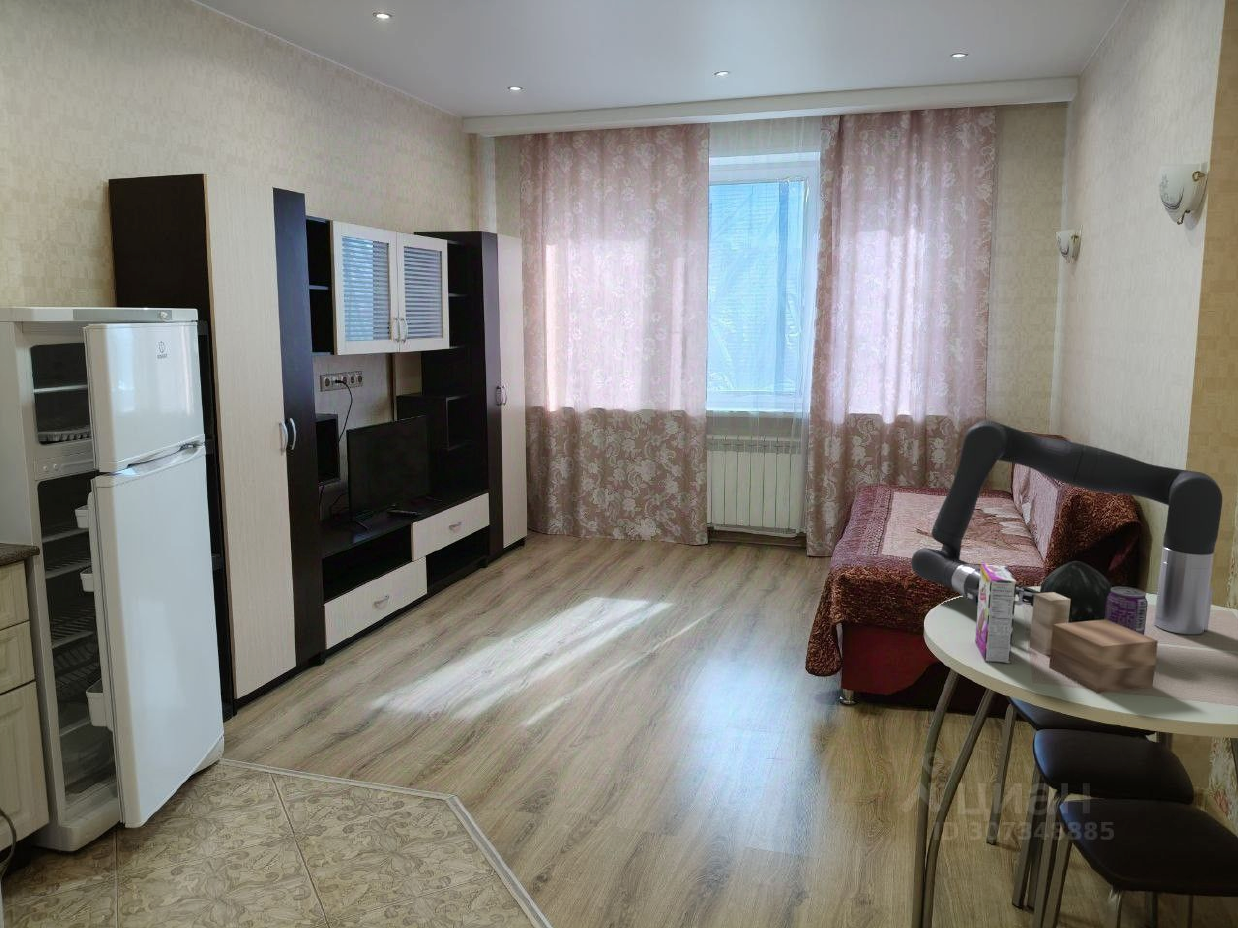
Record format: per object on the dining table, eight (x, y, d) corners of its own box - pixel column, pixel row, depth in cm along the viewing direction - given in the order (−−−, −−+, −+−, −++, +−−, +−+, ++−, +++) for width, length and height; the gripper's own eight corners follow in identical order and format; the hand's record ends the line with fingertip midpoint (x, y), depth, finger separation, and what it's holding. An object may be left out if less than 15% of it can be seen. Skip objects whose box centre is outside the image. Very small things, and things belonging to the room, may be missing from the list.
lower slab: (1101, 664, 178) (1104, 641, 178) (1152, 688, 167) (1155, 665, 166) (1048, 669, 175) (1051, 646, 174) (1096, 695, 164) (1099, 670, 163)
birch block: (1048, 644, 187) (1054, 592, 185) (1065, 653, 183) (1070, 599, 181) (1029, 646, 186) (1034, 593, 184) (1045, 655, 181) (1050, 600, 180)
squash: (1107, 589, 206) (1067, 540, 204) (1143, 614, 192) (1100, 561, 189) (1054, 628, 208) (1014, 580, 206) (1085, 656, 194) (1043, 604, 192)
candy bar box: (973, 641, 188) (979, 563, 185) (999, 644, 187) (1006, 564, 184) (982, 662, 177) (990, 578, 174) (1010, 664, 176) (1018, 580, 173)
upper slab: (1103, 641, 178) (1105, 619, 177) (1155, 664, 166) (1157, 640, 165) (1050, 647, 174) (1052, 624, 174) (1099, 670, 163) (1102, 646, 162)
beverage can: (1138, 645, 187) (1145, 588, 185) (1145, 657, 181) (1152, 598, 179) (1099, 641, 190) (1105, 584, 188) (1104, 653, 183) (1111, 594, 181)
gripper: (950, 569, 203) (998, 591, 187) (1006, 566, 206) (1058, 587, 191) (947, 602, 204) (995, 627, 188) (1004, 598, 207) (1055, 622, 192)
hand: (1026, 607), depth 190 cm, fingers open, 8 cm apart
